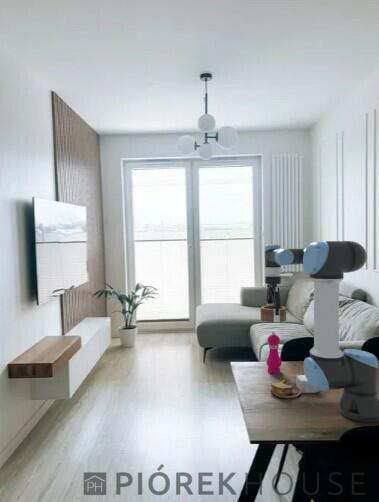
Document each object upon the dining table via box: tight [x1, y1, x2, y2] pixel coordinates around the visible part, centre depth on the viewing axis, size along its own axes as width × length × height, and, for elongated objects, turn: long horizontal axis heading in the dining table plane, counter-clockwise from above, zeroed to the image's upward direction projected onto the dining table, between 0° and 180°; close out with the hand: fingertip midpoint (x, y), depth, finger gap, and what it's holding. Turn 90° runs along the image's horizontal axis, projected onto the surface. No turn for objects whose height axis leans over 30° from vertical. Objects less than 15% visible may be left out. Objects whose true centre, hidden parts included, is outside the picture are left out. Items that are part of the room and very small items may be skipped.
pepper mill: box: [266, 331, 282, 375], centre depth 184 cm, size 7×7×20 cm
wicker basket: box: [260, 304, 287, 323], centre depth 184 cm, size 12×12×6 cm
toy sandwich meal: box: [269, 379, 302, 399], centre depth 159 cm, size 12×14×5 cm
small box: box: [295, 374, 320, 394], centre depth 163 cm, size 8×8×5 cm
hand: (273, 319), depth 184 cm, fingers closed on wicker basket, 12 cm apart
